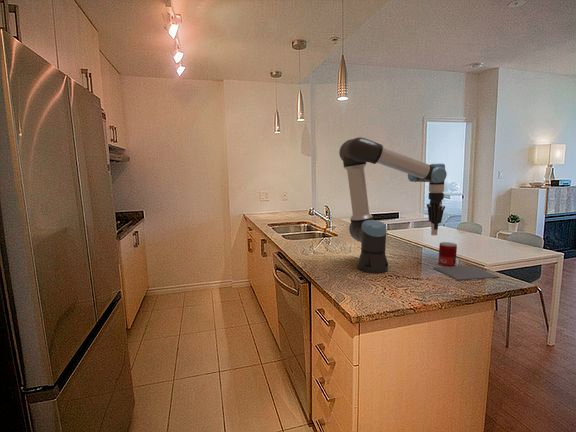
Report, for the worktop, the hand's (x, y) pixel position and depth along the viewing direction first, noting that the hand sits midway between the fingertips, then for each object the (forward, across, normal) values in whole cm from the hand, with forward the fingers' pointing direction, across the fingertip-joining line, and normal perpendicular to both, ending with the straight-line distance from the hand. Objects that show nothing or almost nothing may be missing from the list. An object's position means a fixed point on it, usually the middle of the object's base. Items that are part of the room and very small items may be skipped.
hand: (434, 235), depth 177 cm
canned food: (+13, -12, +1) cm, 18 cm away
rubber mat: (+13, -27, +2) cm, 30 cm away
